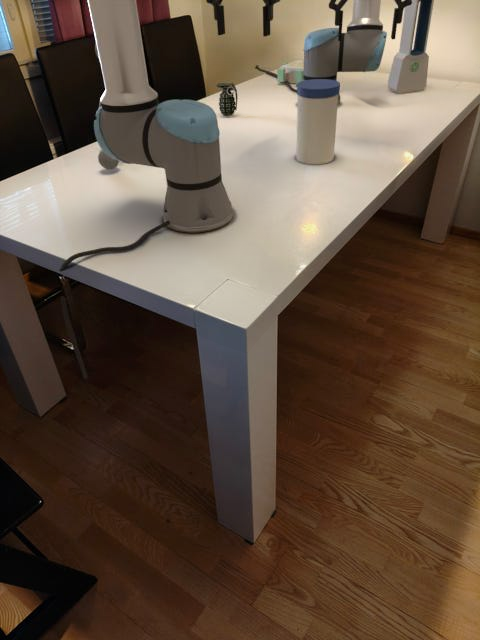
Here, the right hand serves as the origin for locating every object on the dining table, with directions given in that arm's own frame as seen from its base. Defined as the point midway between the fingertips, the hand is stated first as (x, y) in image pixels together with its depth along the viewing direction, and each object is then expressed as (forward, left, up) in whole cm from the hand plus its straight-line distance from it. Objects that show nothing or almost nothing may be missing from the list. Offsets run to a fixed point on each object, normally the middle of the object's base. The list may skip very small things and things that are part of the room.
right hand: (366, 39), depth 127 cm
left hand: (+1, -32, +2) cm, 32 cm away
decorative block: (-80, -18, -26) cm, 86 cm away
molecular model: (+13, -64, -26) cm, 70 cm away
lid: (+15, -12, -8) cm, 20 cm away
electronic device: (-58, +21, -26) cm, 67 cm away
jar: (+15, -12, -26) cm, 32 cm away
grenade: (-26, -43, -26) cm, 56 cm away
